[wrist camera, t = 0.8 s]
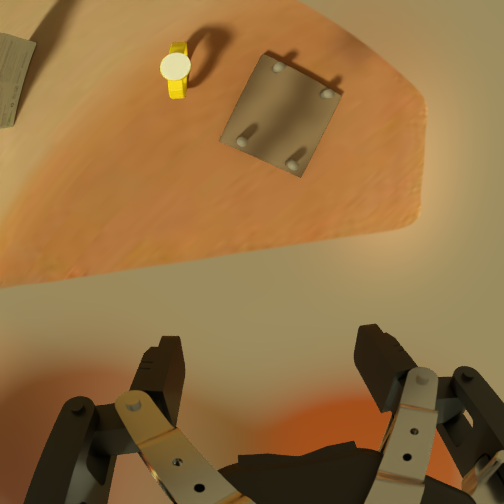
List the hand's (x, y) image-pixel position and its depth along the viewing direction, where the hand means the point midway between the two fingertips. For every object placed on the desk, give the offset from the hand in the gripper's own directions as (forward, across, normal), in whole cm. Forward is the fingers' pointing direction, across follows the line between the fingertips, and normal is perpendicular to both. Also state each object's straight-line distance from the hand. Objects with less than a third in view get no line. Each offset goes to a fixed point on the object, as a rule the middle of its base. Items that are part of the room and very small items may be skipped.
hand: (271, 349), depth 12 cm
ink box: (+19, +28, -22) cm, 40 cm away
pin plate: (+22, -4, -13) cm, 26 cm away
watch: (+21, +7, -18) cm, 29 cm away
